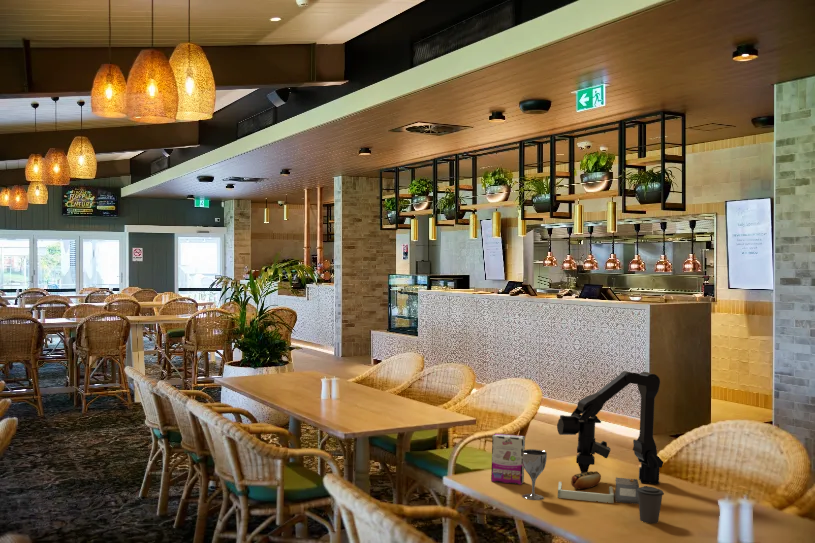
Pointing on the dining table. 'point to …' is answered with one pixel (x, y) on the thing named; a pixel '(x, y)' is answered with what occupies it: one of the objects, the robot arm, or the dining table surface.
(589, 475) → the hot dog
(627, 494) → the box
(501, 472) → the candy bar box
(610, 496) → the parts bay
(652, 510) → the coffee cup
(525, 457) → the wine glass
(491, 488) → the dining table surface
